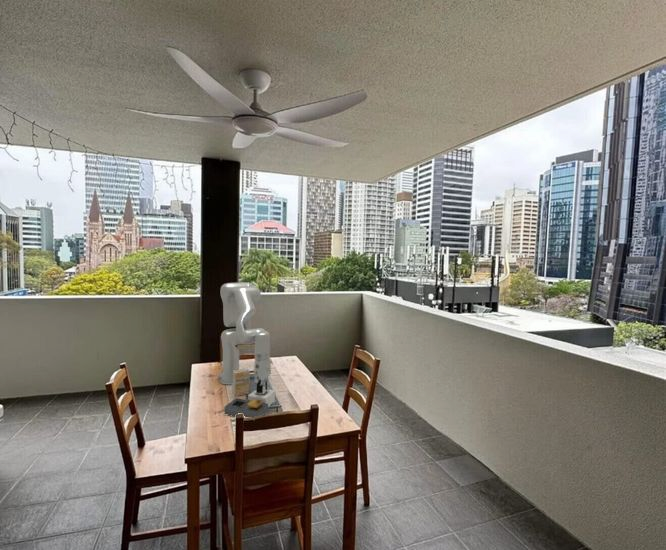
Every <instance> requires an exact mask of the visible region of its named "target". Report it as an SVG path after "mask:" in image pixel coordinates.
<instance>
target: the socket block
mask: <svg viewBox="0 0 666 550" xmlns="http://www.w3.org/2000/svg"><path fill="white" fill-rule="evenodd" d="M249 402H250V400H248V399H243V398H239V397H238V398H234V399H233V400H232V401H230V402H229V403H227V404H226V405H225V406H224V409H223V412H224V414H228V415H227V416H229V415H232V416H231V417H233V418H234V417H235V415H236V414H238V413H243V414H244V416H245V417H254V416H259V415H263V414H265V413H266V412H267V411H268V412H269V408H268V404H267V403H262V404H261V405H260V406H259V407H258V408H257V409H255V408H250V407H248V403H249ZM268 412H267V413H268ZM267 413H266V414H267ZM266 414H265V415H266ZM235 418H236V417H235Z"/></svg>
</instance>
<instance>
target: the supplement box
mask: <svg viewBox="0 0 666 550" xmlns="http://www.w3.org/2000/svg"><path fill="white" fill-rule="evenodd" d="M250 375H251V373H250V369H248V368H244V369H243V368H242V369H239V370H235V371H233V384H232V391H231V392H232V395H233V396H234V397H239V396H245V395H249V394H250V380H251V379H250ZM248 393H249V394H248Z"/></svg>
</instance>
